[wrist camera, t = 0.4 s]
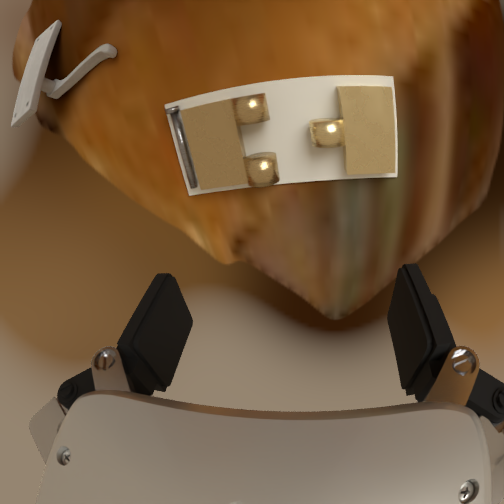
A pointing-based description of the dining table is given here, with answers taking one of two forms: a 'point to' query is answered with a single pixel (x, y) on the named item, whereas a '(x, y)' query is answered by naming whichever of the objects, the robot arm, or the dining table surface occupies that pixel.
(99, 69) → the dining table surface
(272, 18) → the dining table surface
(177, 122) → the hinge pin
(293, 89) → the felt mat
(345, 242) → the dining table surface
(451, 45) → the dining table surface
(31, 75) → the door handle
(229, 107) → the frame leaf
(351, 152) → the door leaf
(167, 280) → the robot arm
